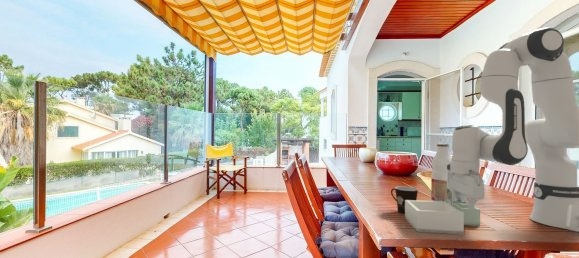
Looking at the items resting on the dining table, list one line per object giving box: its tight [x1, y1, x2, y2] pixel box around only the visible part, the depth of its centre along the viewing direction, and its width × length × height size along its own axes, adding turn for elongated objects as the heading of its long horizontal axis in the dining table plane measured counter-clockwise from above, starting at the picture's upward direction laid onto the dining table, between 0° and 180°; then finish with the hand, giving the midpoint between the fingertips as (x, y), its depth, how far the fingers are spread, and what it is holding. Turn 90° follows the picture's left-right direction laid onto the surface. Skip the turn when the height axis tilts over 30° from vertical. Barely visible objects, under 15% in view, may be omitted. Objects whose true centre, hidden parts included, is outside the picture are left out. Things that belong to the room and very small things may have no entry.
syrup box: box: [447, 183, 468, 206], centre depth 111 cm, size 6×6×14 cm
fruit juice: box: [430, 143, 452, 203], centre depth 122 cm, size 9×9×28 cm
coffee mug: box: [390, 185, 419, 216], centre depth 112 cm, size 12×9×10 cm
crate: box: [404, 199, 465, 235], centre depth 96 cm, size 14×14×7 cm
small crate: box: [453, 203, 481, 227], centre depth 100 cm, size 6×6×6 cm
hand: (463, 205), depth 100 cm, fingers open, 8 cm apart
